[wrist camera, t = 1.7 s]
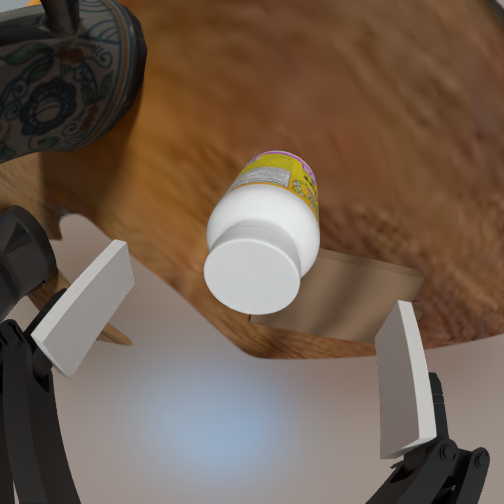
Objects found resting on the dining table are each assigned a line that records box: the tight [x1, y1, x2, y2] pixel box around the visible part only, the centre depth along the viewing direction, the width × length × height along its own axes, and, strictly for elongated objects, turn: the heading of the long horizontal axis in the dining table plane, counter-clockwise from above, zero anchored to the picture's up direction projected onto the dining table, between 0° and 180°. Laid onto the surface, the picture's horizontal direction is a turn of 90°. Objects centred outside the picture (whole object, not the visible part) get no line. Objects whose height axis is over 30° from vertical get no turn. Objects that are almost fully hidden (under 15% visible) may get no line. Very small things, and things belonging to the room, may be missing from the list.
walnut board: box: [250, 248, 425, 344], centre depth 28 cm, size 19×11×2 cm, turn 84°
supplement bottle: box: [204, 151, 320, 315], centre depth 18 cm, size 7×7×13 cm
